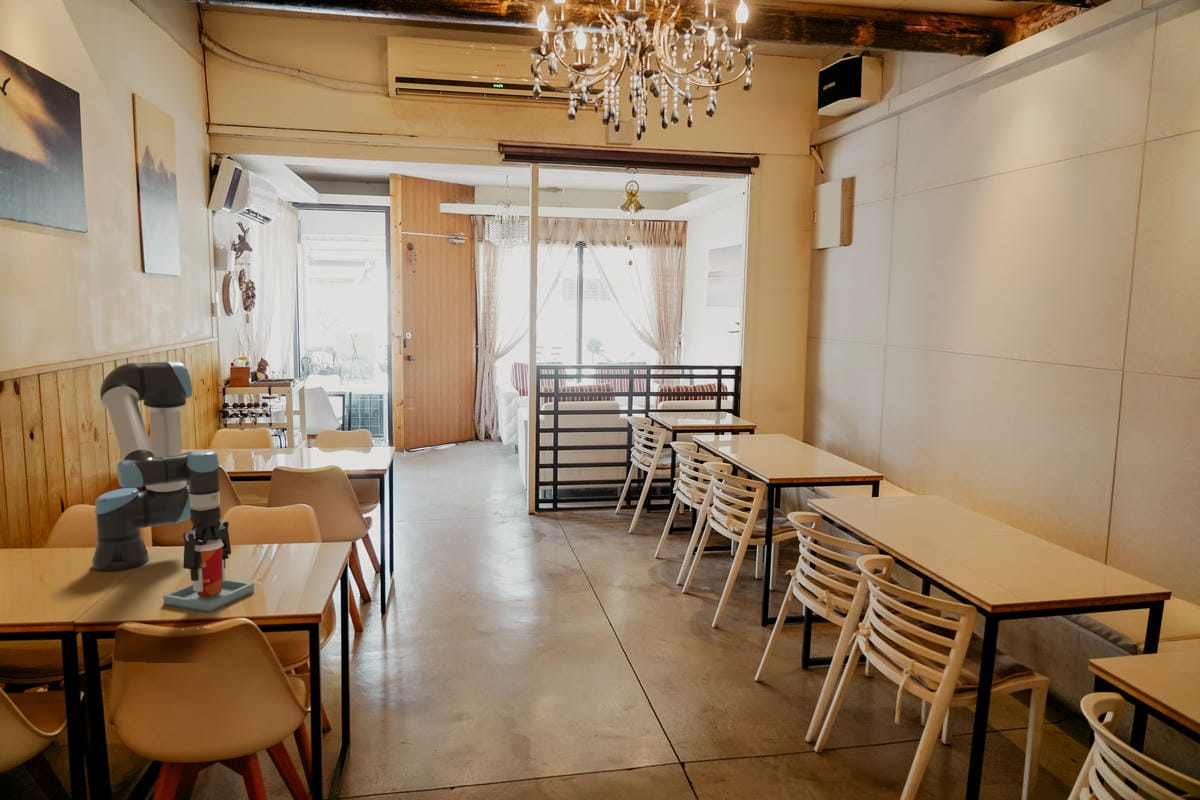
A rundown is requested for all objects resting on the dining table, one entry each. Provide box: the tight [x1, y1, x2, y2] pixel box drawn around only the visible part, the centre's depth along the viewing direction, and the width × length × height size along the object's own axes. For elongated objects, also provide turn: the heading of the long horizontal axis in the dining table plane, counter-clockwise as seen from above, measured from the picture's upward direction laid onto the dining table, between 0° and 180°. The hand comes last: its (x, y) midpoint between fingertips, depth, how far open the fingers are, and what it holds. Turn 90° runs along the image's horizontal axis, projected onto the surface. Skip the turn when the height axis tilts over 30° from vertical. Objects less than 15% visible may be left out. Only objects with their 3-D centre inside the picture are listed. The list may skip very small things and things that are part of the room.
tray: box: [163, 578, 255, 614], centre depth 211 cm, size 16×16×3 cm
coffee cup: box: [194, 539, 224, 597], centre depth 210 cm, size 8×8×15 cm
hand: (209, 585), depth 210 cm, fingers closed on coffee cup, 7 cm apart
